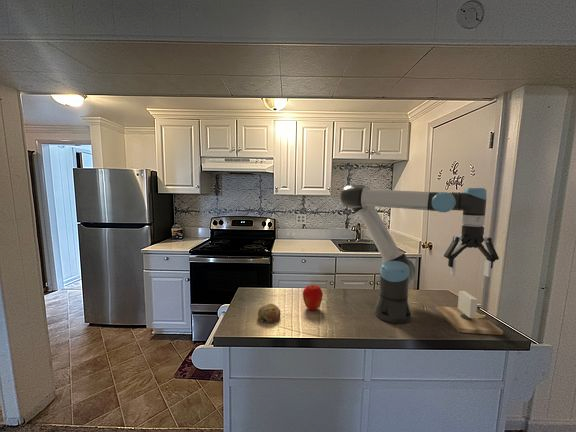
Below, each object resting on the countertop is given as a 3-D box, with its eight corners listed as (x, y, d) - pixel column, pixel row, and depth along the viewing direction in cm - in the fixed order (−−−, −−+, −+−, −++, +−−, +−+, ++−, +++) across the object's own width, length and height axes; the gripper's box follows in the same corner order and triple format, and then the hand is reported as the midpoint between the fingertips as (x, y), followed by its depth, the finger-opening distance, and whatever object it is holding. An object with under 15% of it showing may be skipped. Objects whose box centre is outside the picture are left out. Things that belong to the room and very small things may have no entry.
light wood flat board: (458, 332, 101) (458, 327, 101) (435, 309, 121) (435, 305, 120) (502, 334, 99) (503, 330, 99) (472, 311, 119) (472, 307, 119)
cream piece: (467, 322, 105) (468, 299, 105) (455, 312, 114) (457, 290, 113) (492, 323, 104) (494, 300, 103) (478, 313, 113) (480, 291, 112)
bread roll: (255, 327, 110) (252, 314, 107) (265, 308, 119) (261, 296, 115) (277, 331, 107) (273, 319, 103) (285, 312, 115) (282, 299, 111)
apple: (321, 304, 124) (321, 280, 123) (323, 313, 115) (324, 287, 114) (302, 304, 125) (302, 280, 123) (303, 313, 116) (303, 287, 114)
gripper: (445, 225, 104) (442, 276, 106) (512, 227, 101) (508, 279, 103) (436, 223, 111) (434, 271, 113) (499, 224, 108) (495, 273, 110)
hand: (469, 275), depth 108 cm, fingers open, 13 cm apart
